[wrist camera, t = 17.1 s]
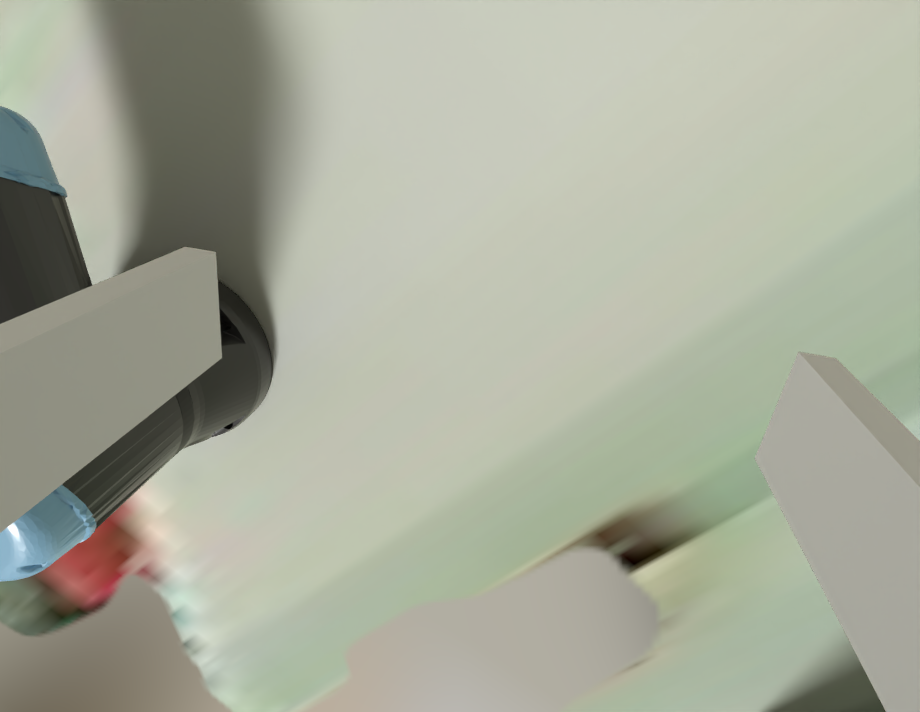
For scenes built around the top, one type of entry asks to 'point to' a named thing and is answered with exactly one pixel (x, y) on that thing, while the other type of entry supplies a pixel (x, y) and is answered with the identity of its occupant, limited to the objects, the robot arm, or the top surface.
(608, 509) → the top surface
